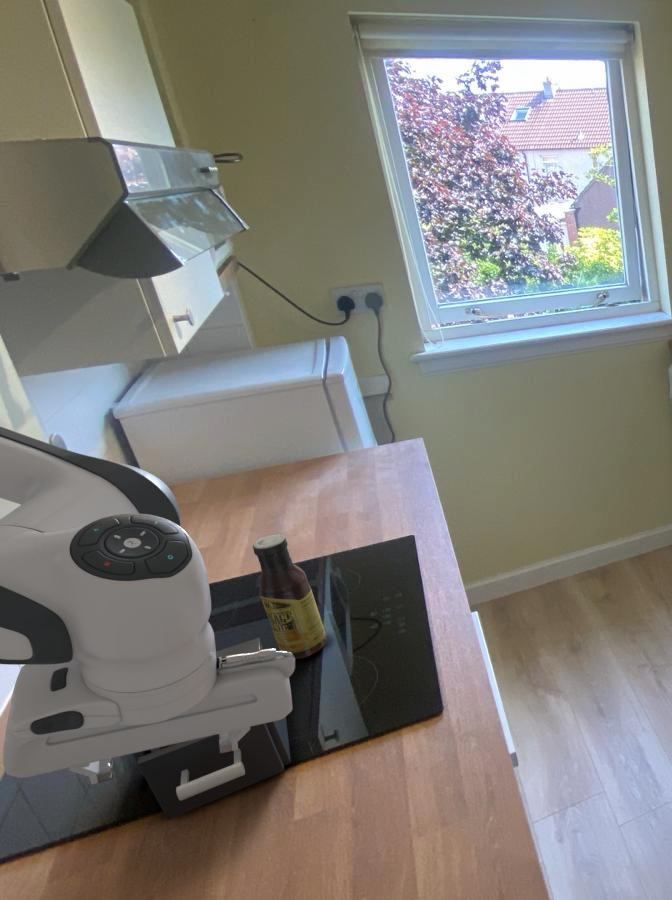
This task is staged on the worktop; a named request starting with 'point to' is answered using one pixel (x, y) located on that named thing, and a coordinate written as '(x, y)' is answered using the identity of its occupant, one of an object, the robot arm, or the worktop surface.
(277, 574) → the sauce bottle
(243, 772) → the drawer
